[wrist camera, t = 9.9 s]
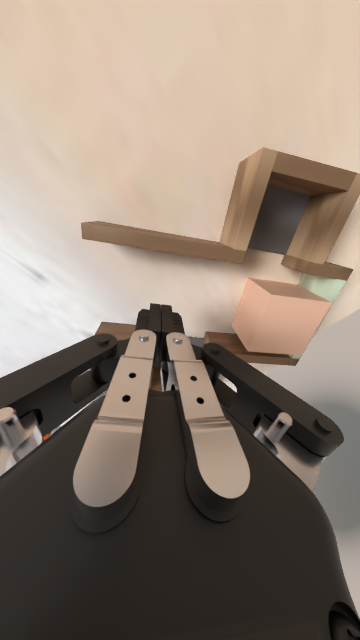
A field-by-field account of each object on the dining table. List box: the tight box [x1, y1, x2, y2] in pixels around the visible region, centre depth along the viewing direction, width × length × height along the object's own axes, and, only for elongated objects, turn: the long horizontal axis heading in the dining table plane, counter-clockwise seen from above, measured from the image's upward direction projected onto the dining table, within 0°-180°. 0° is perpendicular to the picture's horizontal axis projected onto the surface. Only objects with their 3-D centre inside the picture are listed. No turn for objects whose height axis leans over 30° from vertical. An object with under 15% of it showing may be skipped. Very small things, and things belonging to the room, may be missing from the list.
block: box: [231, 278, 332, 355], centre depth 20 cm, size 6×6×5 cm
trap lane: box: [81, 147, 360, 392], centre depth 19 cm, size 23×22×4 cm
